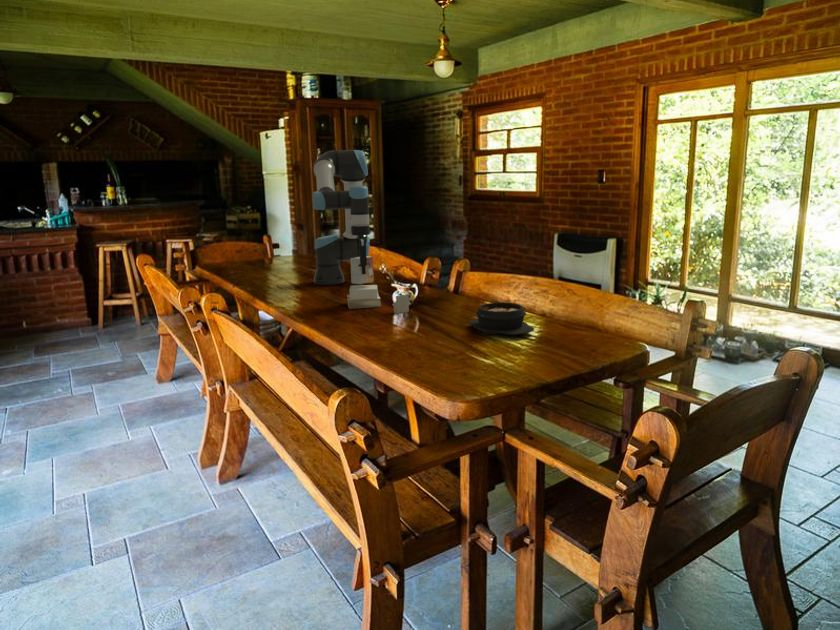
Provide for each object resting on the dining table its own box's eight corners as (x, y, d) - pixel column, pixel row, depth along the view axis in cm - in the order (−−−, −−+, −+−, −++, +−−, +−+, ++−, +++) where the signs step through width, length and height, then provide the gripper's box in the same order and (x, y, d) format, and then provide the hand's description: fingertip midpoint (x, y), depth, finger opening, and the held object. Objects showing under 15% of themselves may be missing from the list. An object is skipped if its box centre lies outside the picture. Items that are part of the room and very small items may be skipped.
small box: (361, 284, 243) (360, 258, 240) (351, 283, 246) (349, 257, 244) (374, 281, 249) (373, 256, 247) (364, 280, 252) (363, 255, 250)
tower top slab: (351, 295, 252) (350, 285, 251) (377, 294, 253) (377, 284, 252) (350, 299, 243) (349, 289, 243) (377, 298, 244) (376, 289, 243)
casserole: (456, 328, 210) (456, 304, 208) (496, 319, 220) (496, 297, 218) (505, 343, 190) (505, 317, 188) (546, 333, 200) (547, 309, 198)
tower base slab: (347, 304, 254) (347, 294, 253) (378, 302, 256) (377, 293, 255) (348, 309, 243) (348, 300, 242) (380, 308, 245) (380, 298, 244)
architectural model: (391, 313, 235) (391, 294, 233) (406, 311, 239) (406, 292, 237) (396, 315, 232) (395, 296, 231) (411, 312, 236) (411, 294, 234)
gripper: (348, 223, 252) (351, 275, 257) (353, 227, 231) (355, 285, 236) (366, 222, 253) (369, 274, 259) (372, 227, 232) (374, 284, 238)
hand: (362, 279), depth 247 cm, fingers closed on small box, 9 cm apart
